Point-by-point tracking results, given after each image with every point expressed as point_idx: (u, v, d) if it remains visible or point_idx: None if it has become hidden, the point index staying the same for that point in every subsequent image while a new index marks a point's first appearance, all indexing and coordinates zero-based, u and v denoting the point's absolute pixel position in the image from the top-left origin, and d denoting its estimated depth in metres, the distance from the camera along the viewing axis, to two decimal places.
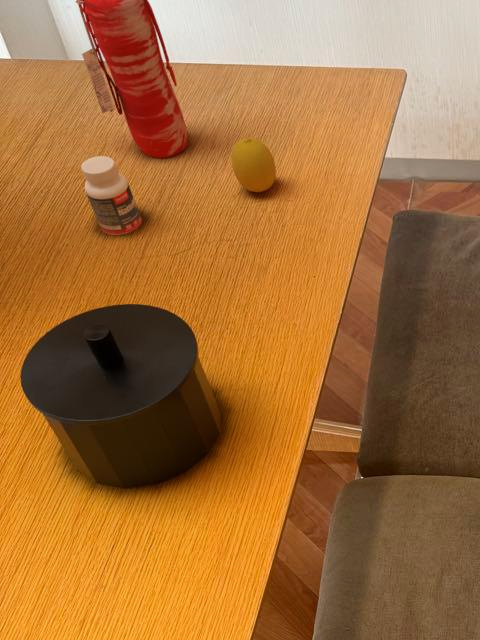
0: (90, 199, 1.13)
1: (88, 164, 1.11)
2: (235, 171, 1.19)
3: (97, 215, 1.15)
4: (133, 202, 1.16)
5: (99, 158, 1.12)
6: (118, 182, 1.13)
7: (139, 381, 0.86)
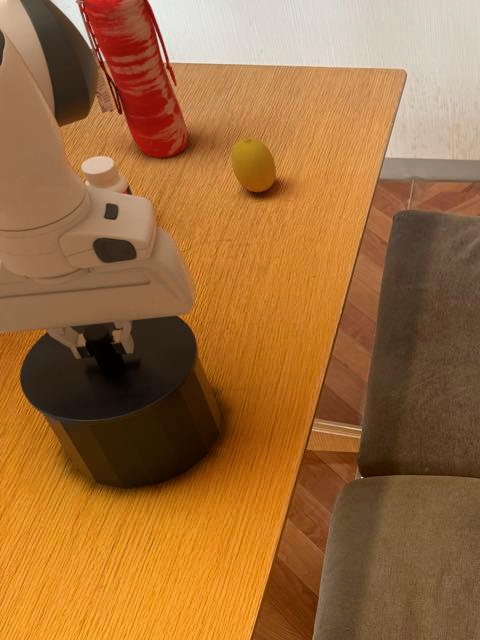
0: None
1: (88, 164, 1.11)
2: (235, 171, 1.19)
3: None
4: None
5: (99, 158, 1.12)
6: (118, 182, 1.13)
7: (139, 381, 0.86)
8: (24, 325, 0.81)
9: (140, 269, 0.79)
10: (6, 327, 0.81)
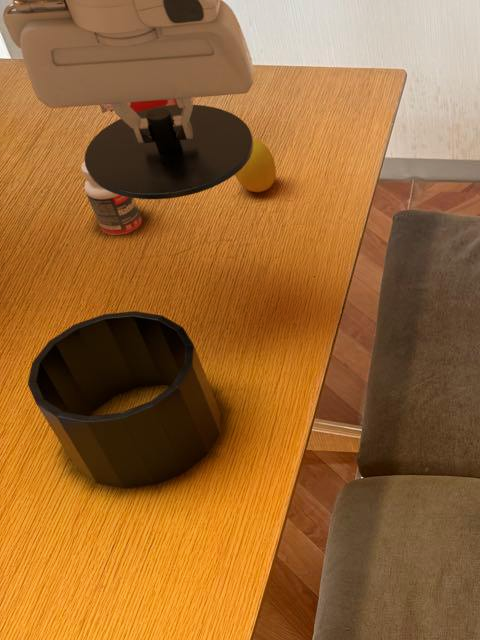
0: (90, 199, 1.13)
1: None
2: None
3: (97, 215, 1.15)
4: (133, 202, 1.16)
5: None
6: None
7: (198, 164, 0.90)
8: (92, 97, 0.85)
9: (205, 36, 0.82)
10: (75, 99, 0.85)
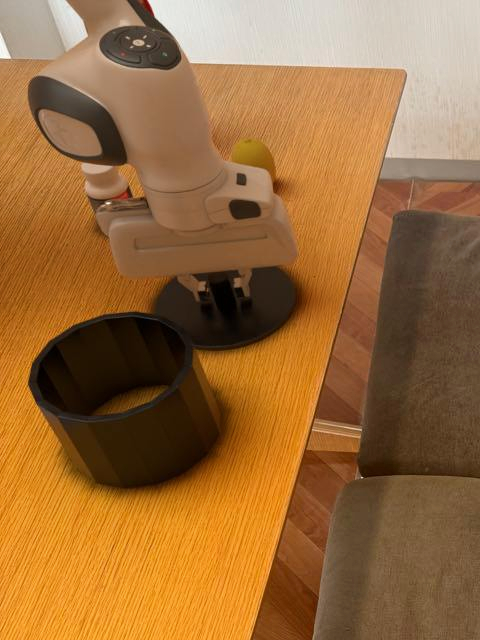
0: (90, 199, 1.13)
1: (88, 164, 1.11)
2: None
3: None
4: None
5: None
6: (118, 182, 1.13)
7: (251, 317, 1.07)
8: (165, 271, 1.02)
9: (260, 226, 0.99)
10: (151, 273, 1.02)
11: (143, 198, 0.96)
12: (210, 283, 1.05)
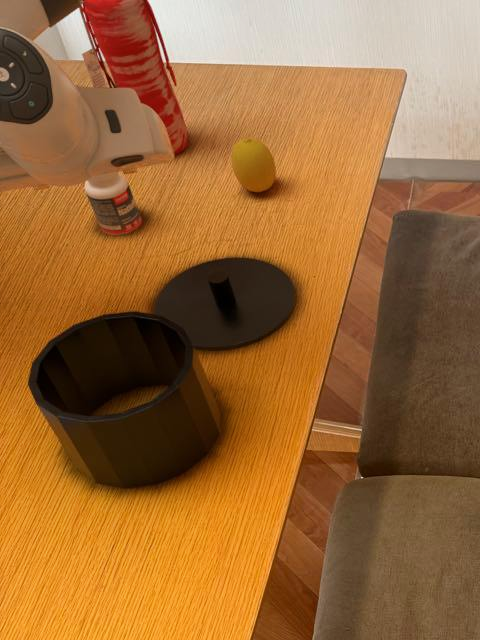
0: (90, 199, 1.13)
1: None
2: (235, 171, 1.19)
3: (97, 215, 1.15)
4: (133, 202, 1.16)
5: None
6: (118, 182, 1.13)
7: (251, 317, 1.07)
8: (29, 186, 0.94)
9: None
10: (14, 188, 0.94)
11: None
12: (210, 283, 1.05)
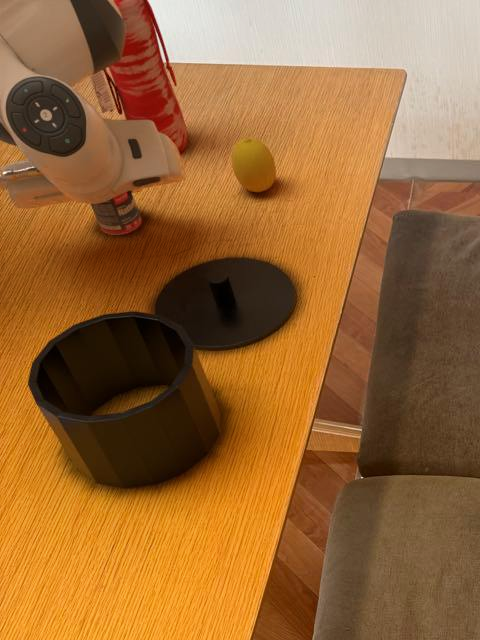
0: None
1: None
2: (235, 171, 1.19)
3: (97, 215, 1.15)
4: (133, 202, 1.16)
5: None
6: None
7: (251, 317, 1.07)
8: (61, 202, 1.09)
9: None
10: (48, 204, 1.09)
11: None
12: (210, 283, 1.05)
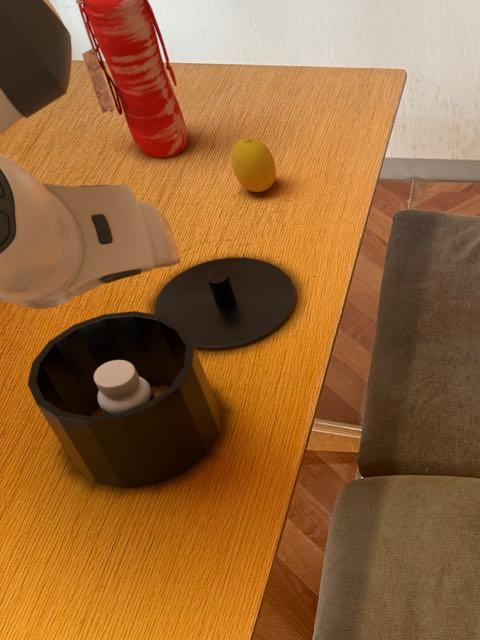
0: (104, 412, 0.91)
1: (102, 373, 0.89)
2: (235, 171, 1.19)
3: None
4: None
5: (116, 364, 0.90)
6: (139, 391, 0.91)
7: (251, 317, 1.07)
8: None
9: None
10: None
11: None
12: (210, 283, 1.05)
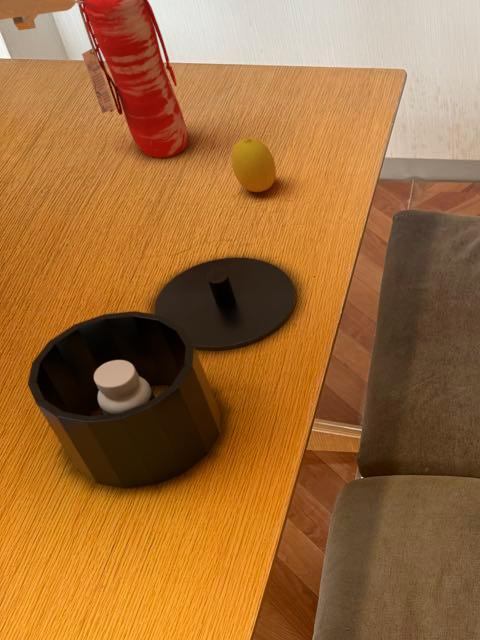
0: (104, 412, 0.91)
1: (102, 373, 0.89)
2: (235, 171, 1.19)
3: None
4: None
5: (116, 364, 0.90)
6: (139, 391, 0.91)
7: (251, 317, 1.07)
8: None
9: None
10: None
11: None
12: (210, 283, 1.05)
